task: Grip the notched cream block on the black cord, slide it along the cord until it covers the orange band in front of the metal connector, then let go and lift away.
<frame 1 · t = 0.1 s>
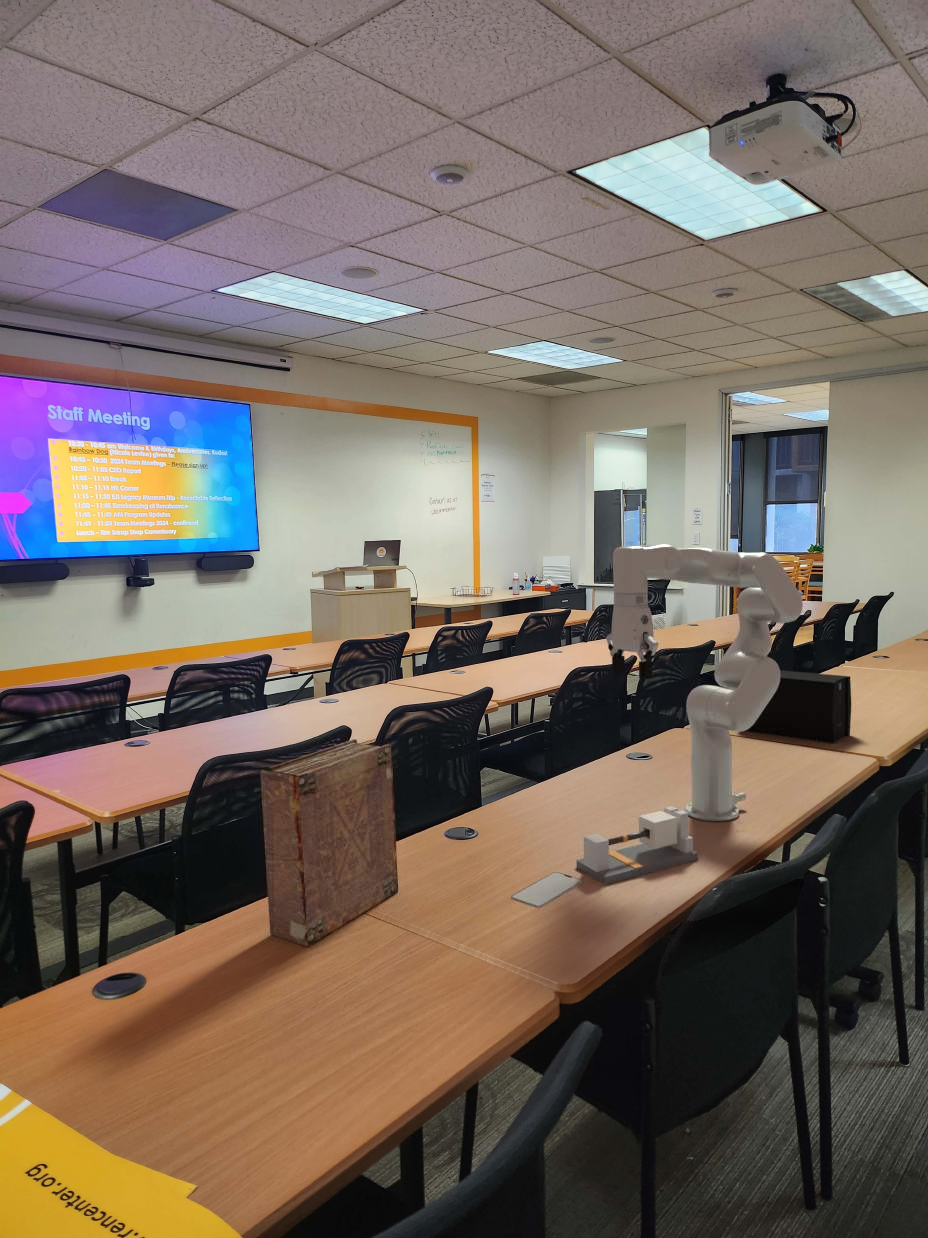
hand: (631, 675, 183), 37 cm above the table, tool pointing down, fingers open, 9 cm apart
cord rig: (637, 863, 169), on the table
smartphone: (547, 892, 158), on the table
notched cream block: (657, 829, 170), point 6 cm above the table, slide at 0.0 cm
book: (337, 914, 151), on the table
uninterruptible power supply: (790, 733, 276), on the table
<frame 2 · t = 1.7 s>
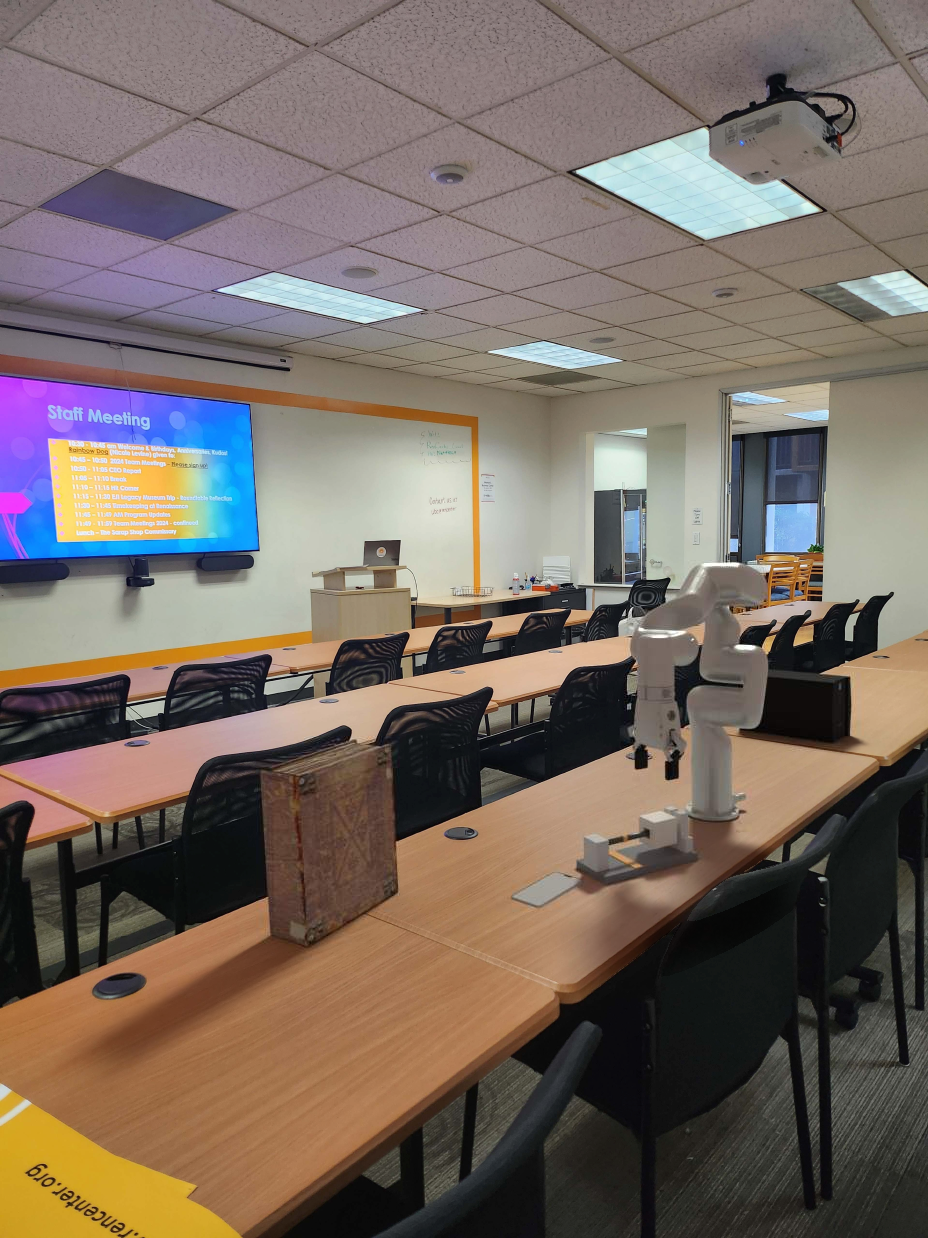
hand: (656, 774, 169), 18 cm above the table, tool pointing down, fingers open, 9 cm apart
nothing on the table moved.
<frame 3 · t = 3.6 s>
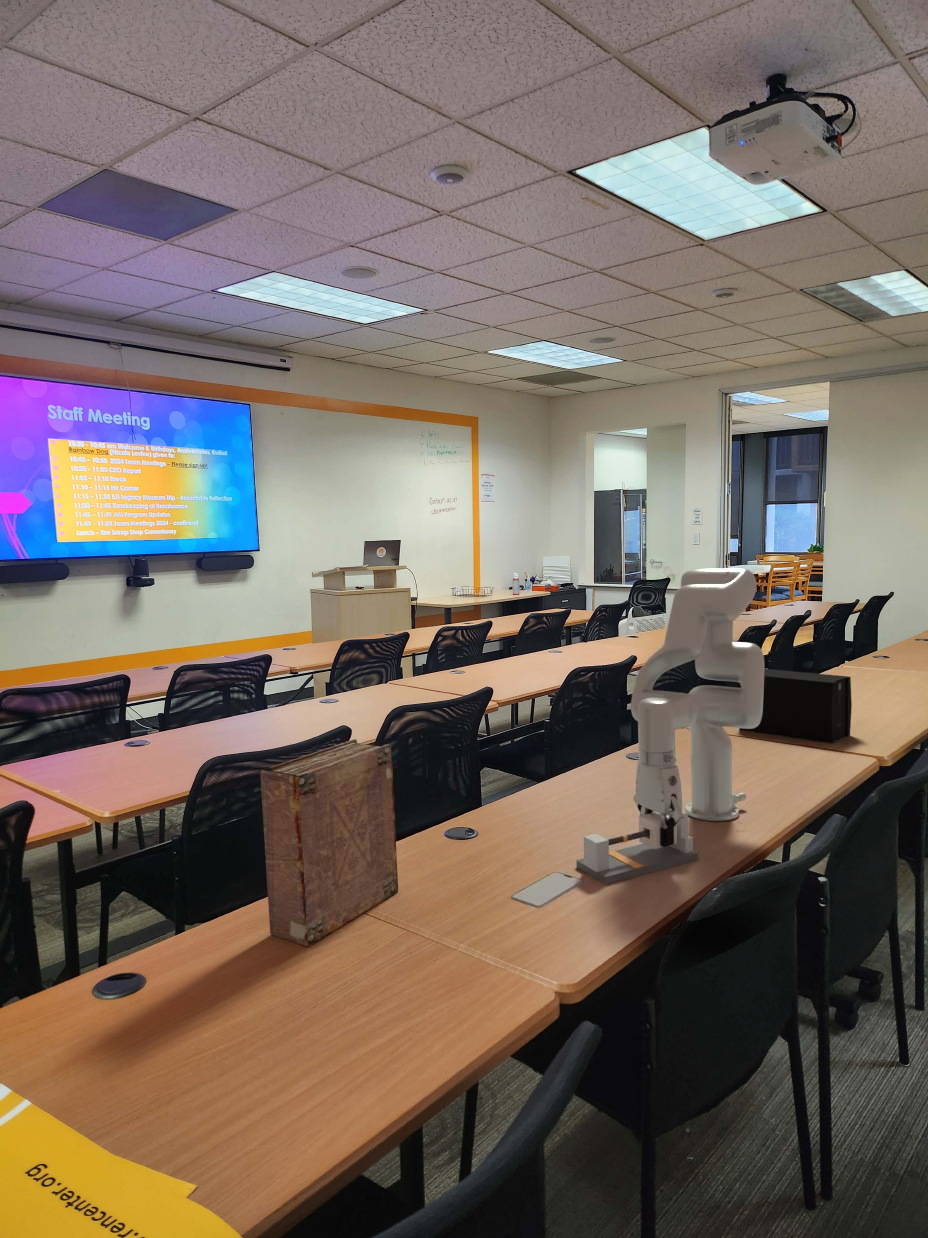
hand: (658, 840, 171), 4 cm above the table, tool pointing down, fingers closed on notched cream block, 5 cm apart
notched cream block: (657, 829, 170), point 6 cm above the table, slide at 0.0 cm, touching gripper
everything else where it was.
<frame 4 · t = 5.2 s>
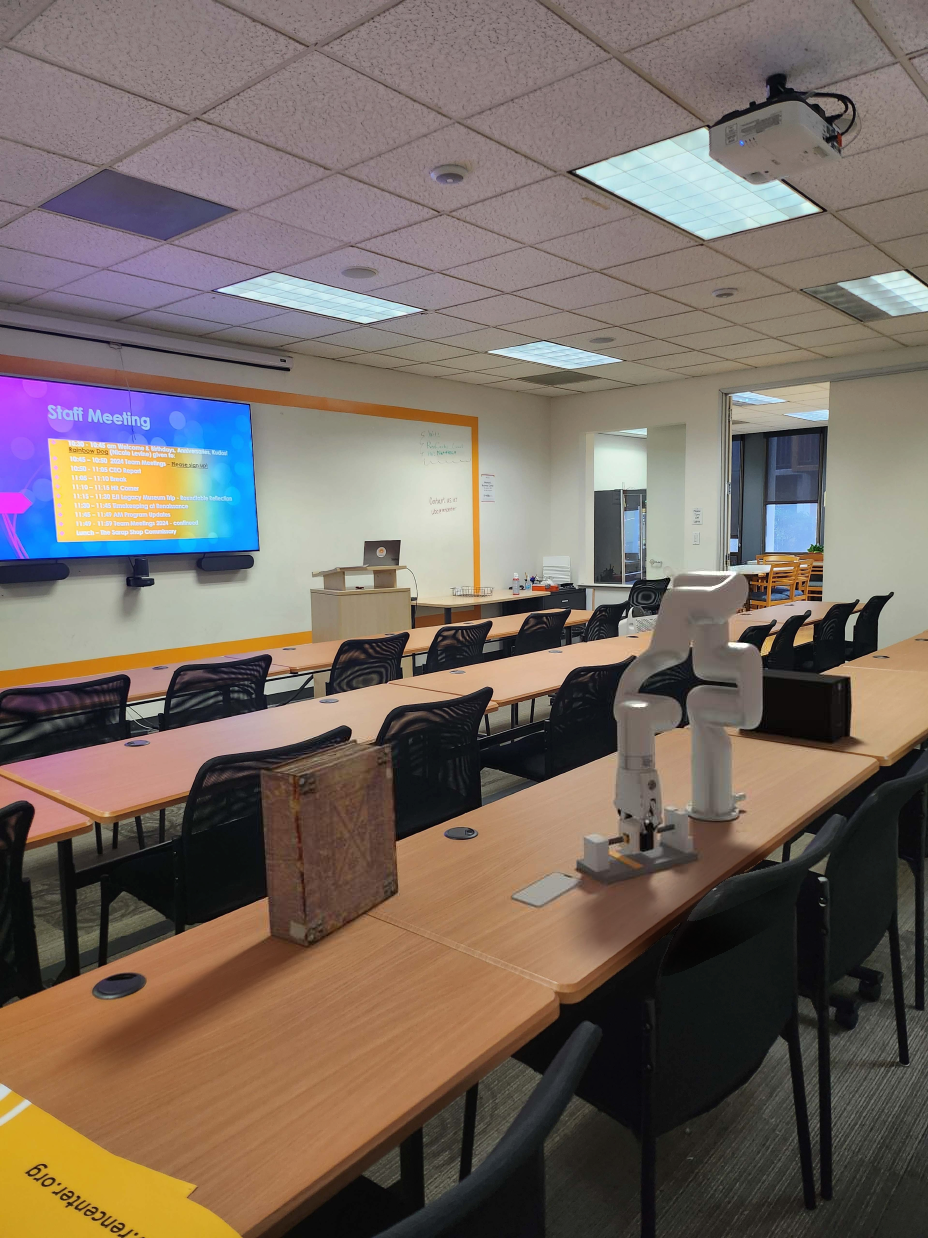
hand: (637, 845, 168), 4 cm above the table, tool pointing down, fingers closed on notched cream block, 5 cm apart
notched cream block: (637, 834, 168), point 6 cm above the table, slide at 5.4 cm, touching gripper
everything else where it was.
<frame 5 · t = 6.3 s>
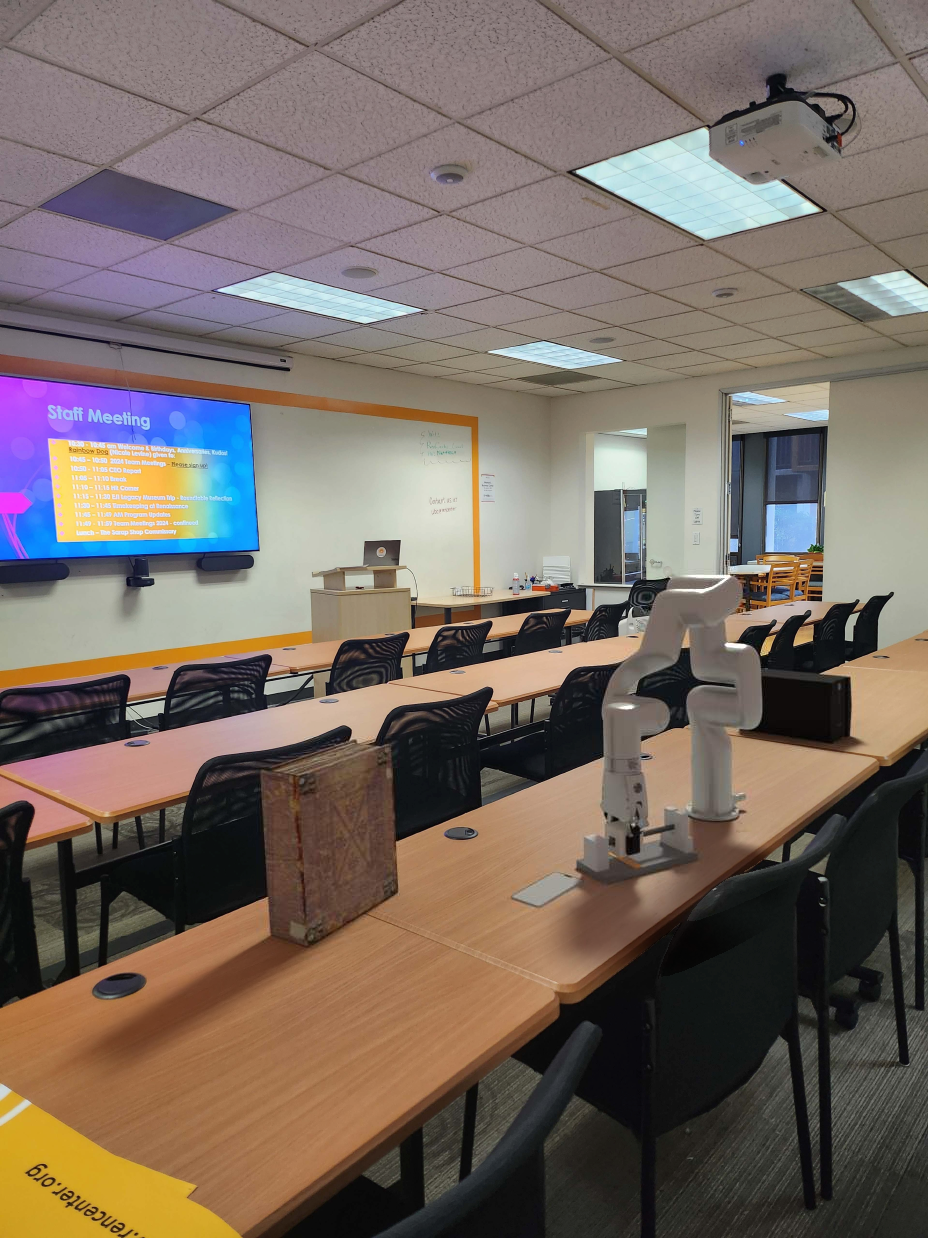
hand: (624, 848, 167), 4 cm above the table, tool pointing down, fingers closed on notched cream block, 5 cm apart
notched cream block: (624, 837, 167), point 6 cm above the table, slide at 9.0 cm, touching gripper
everything else where it was.
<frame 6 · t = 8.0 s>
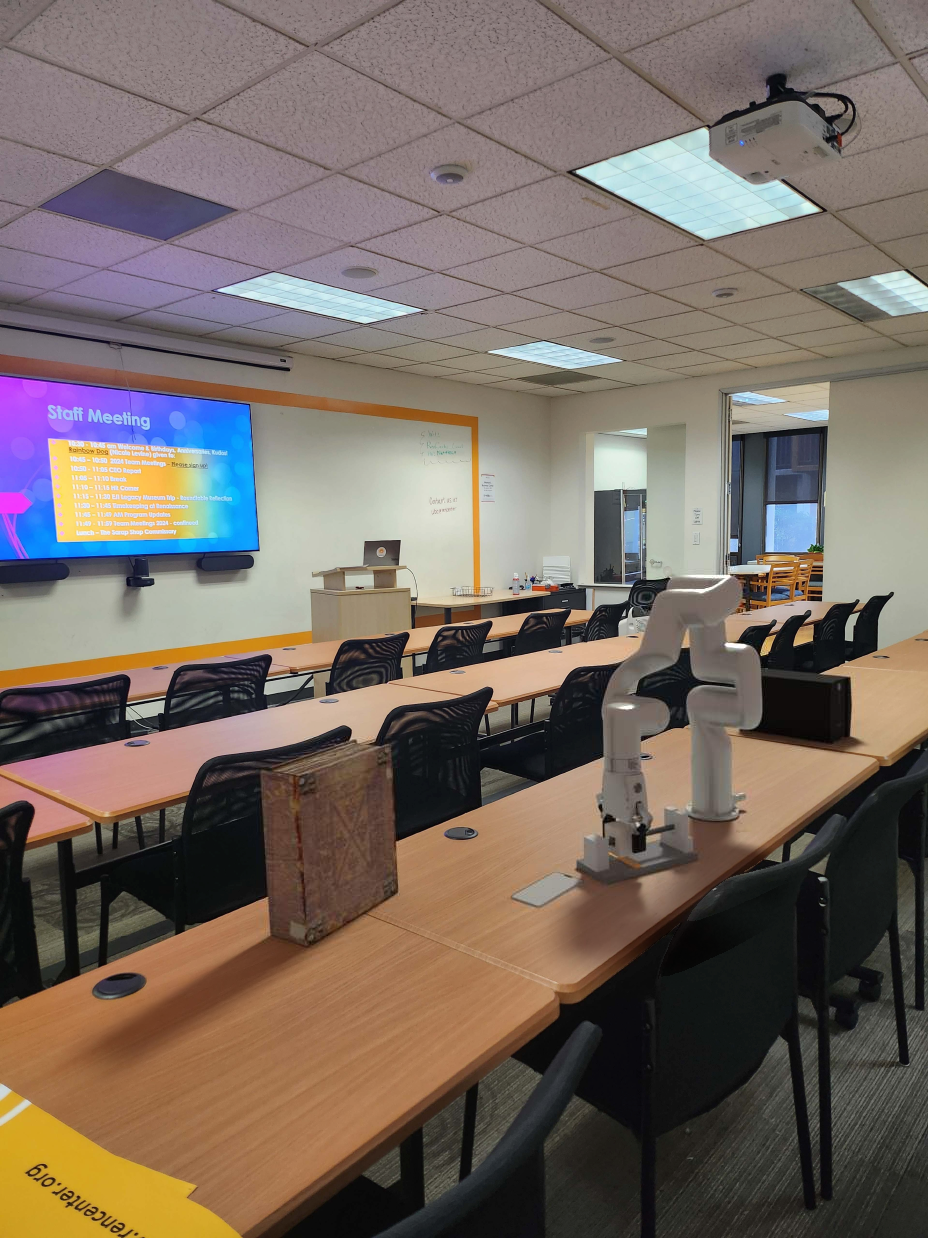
hand: (623, 844, 167), 5 cm above the table, tool pointing down, fingers open, 9 cm apart
notched cream block: (623, 837, 167), point 6 cm above the table, slide at 9.0 cm
everything else where it was.
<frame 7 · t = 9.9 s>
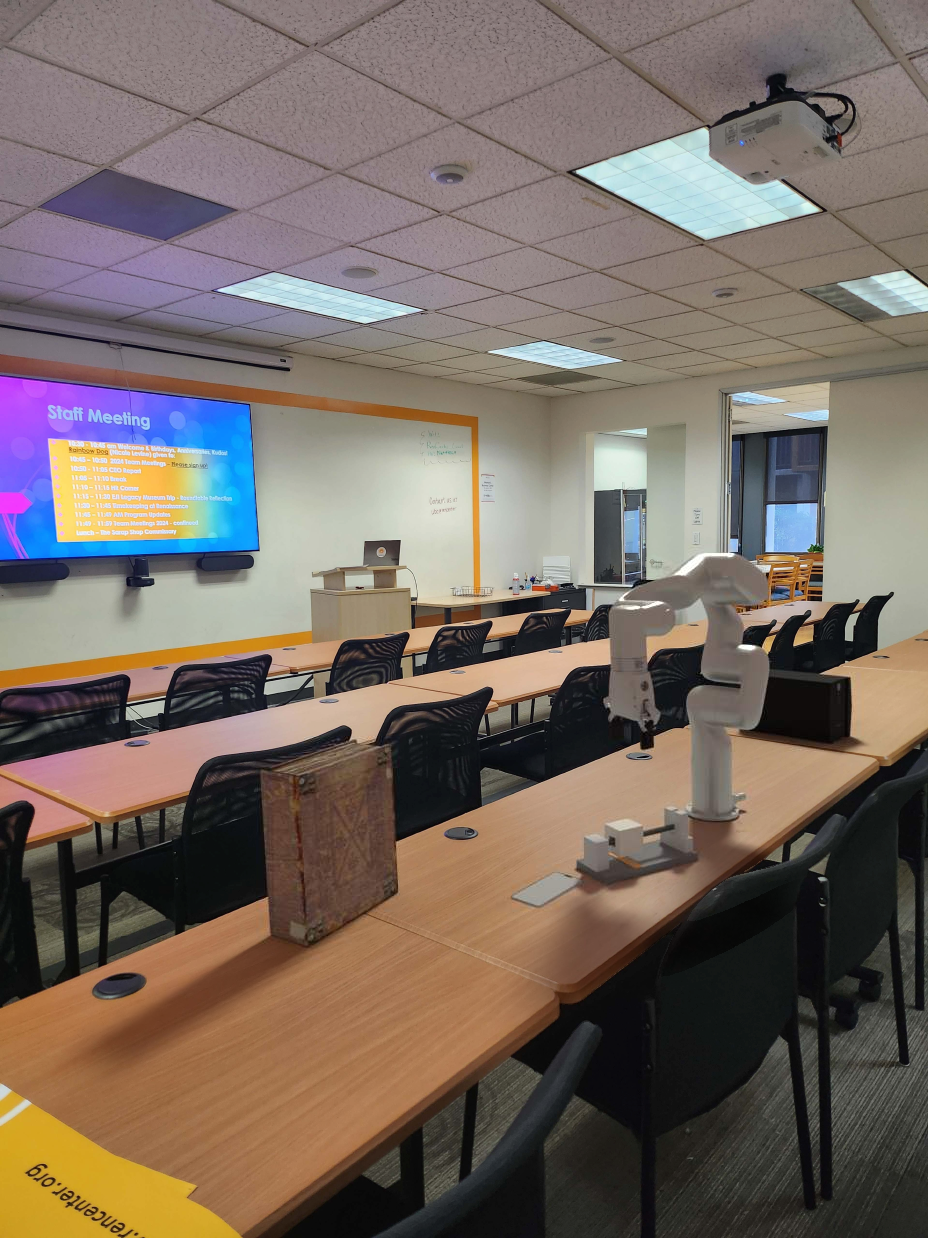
hand: (632, 743, 171), 24 cm above the table, tool pointing down, fingers open, 9 cm apart
nothing on the table moved.
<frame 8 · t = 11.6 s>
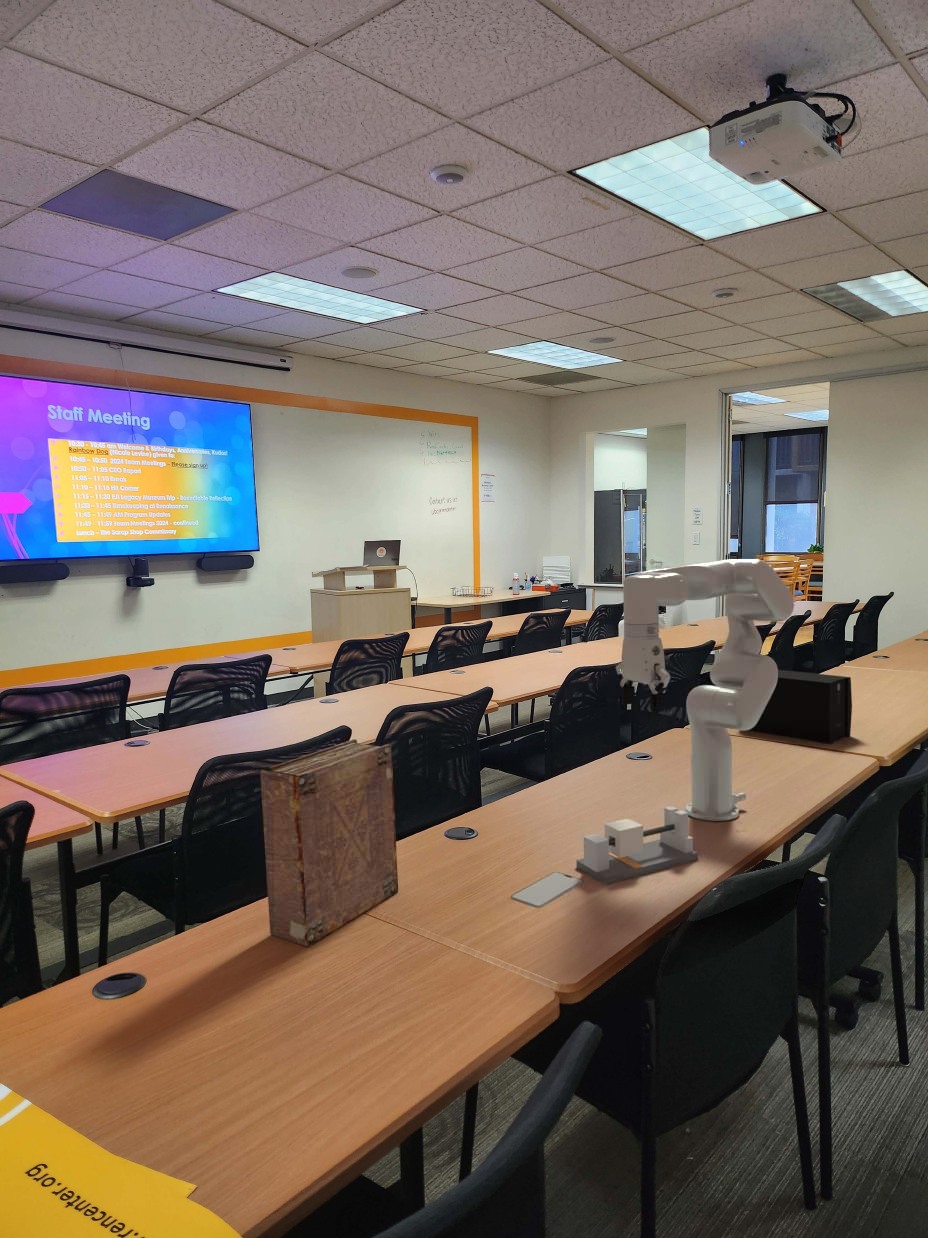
hand: (642, 707, 179), 30 cm above the table, tool pointing down, fingers open, 9 cm apart
nothing on the table moved.
at the end: notched cream block slide at 9.0 cm; the gripper is holding nothing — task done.
